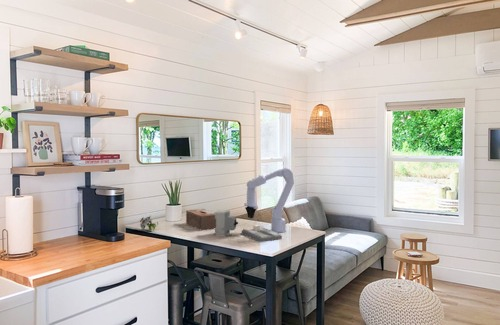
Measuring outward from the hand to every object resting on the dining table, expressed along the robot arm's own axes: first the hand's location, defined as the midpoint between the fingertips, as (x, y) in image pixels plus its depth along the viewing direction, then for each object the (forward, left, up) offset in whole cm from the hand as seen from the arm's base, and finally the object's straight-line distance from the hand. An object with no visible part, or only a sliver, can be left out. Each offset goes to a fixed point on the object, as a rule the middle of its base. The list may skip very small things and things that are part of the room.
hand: (250, 217), depth 263 cm
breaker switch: (0, +8, -7) cm, 11 cm away
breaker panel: (0, +14, -9) cm, 17 cm away
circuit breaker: (+18, 0, -10) cm, 20 cm away
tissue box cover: (+22, -31, -10) cm, 39 cm away
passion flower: (+61, -34, -10) cm, 70 cm away
